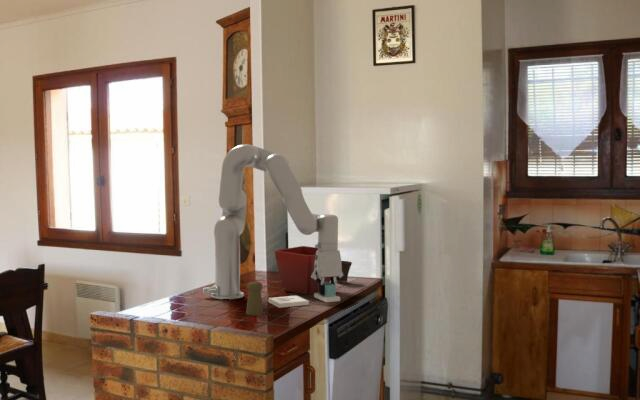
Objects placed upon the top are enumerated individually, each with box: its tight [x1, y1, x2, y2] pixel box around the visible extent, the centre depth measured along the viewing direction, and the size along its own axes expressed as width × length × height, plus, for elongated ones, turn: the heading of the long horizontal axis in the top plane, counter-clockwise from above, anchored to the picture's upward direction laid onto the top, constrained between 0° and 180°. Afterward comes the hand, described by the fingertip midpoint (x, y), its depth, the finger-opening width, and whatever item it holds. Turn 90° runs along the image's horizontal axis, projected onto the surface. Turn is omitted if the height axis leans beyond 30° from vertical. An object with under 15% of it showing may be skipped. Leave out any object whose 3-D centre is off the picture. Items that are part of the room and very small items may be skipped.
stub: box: [313, 282, 341, 303], centre depth 226 cm, size 6×10×6 cm, turn 28°
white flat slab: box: [268, 294, 310, 309], centre depth 219 cm, size 12×10×2 cm
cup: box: [336, 260, 353, 285], centre depth 260 cm, size 9×9×10 cm
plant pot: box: [274, 245, 331, 295], centre depth 242 cm, size 19×19×17 cm
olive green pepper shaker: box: [245, 280, 264, 317], centre depth 203 cm, size 6×6×11 cm
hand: (327, 293), depth 226 cm, fingers closed on stub, 3 cm apart
